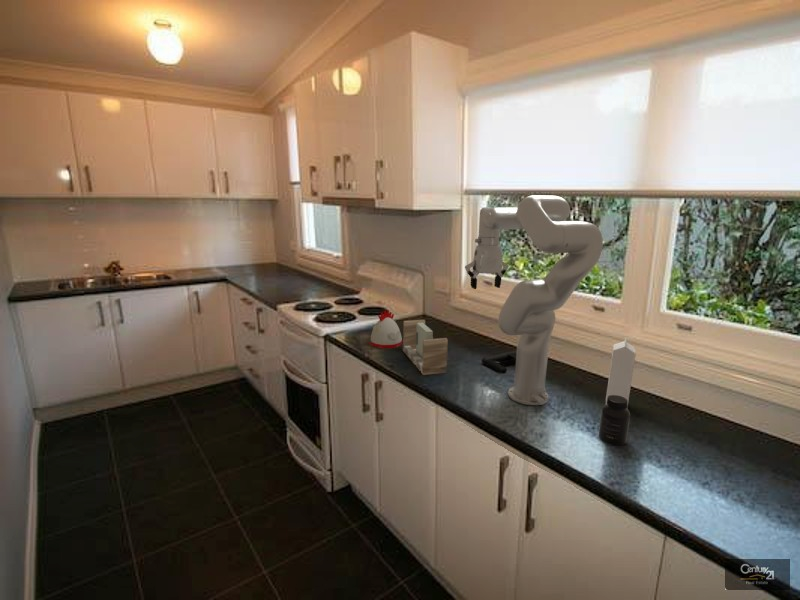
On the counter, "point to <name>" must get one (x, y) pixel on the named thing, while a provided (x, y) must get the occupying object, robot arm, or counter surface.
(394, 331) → the kitchen timer
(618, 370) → the milk
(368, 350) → the counter surface
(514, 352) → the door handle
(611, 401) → the supplement bottle
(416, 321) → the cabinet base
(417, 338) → the door panel
